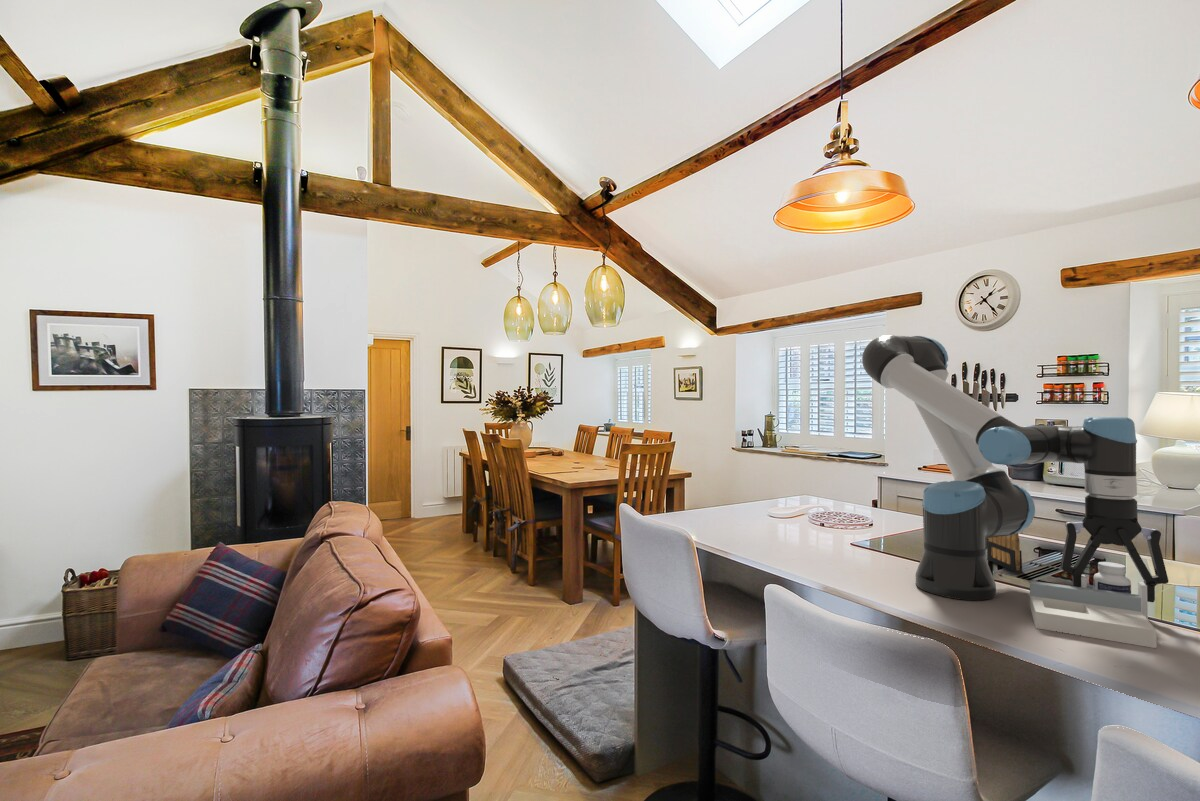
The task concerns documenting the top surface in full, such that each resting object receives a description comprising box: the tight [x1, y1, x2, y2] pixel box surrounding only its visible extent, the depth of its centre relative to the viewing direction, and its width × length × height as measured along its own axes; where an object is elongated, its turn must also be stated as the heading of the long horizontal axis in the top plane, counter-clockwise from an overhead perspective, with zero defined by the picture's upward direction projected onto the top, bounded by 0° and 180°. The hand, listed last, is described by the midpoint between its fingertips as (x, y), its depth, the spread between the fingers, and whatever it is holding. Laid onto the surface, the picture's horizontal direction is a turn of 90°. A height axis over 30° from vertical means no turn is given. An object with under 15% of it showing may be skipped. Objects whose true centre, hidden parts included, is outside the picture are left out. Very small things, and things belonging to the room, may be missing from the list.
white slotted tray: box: [1029, 580, 1157, 649], centre depth 103 cm, size 16×12×6 cm
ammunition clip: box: [986, 533, 1023, 573], centre depth 142 cm, size 11×2×12 cm, turn 177°
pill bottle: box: [1093, 561, 1132, 594], centre depth 109 cm, size 5×5×10 cm
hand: (1112, 613), depth 109 cm, fingers open, 8 cm apart
